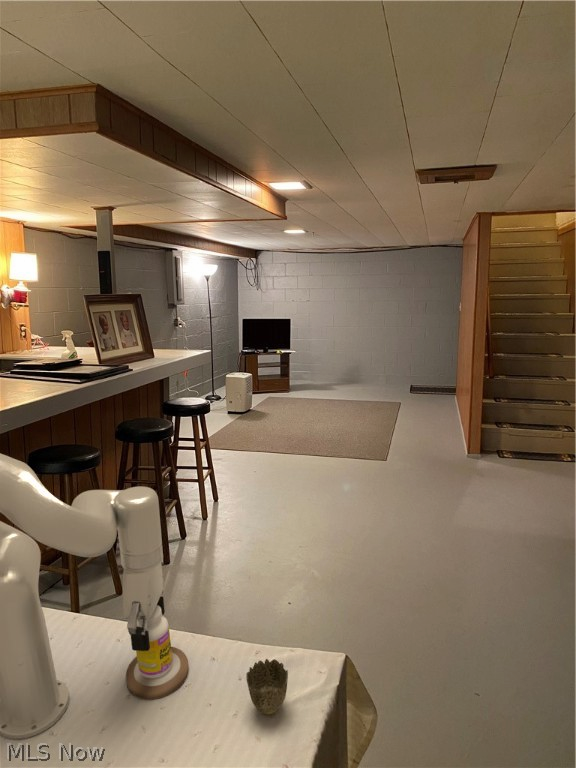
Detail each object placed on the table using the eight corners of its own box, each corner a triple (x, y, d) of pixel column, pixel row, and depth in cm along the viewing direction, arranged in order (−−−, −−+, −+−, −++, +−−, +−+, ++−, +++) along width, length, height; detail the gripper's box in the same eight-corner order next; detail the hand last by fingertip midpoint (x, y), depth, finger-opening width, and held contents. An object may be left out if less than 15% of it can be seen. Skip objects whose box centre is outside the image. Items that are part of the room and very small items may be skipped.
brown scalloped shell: (242, 702, 104) (239, 667, 102) (278, 687, 107) (276, 652, 105) (259, 734, 98) (256, 697, 95) (296, 716, 101) (295, 680, 98)
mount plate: (117, 698, 106) (116, 691, 105) (138, 651, 117) (137, 644, 117) (180, 700, 105) (179, 692, 104) (194, 652, 116) (194, 645, 116)
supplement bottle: (164, 682, 107) (156, 626, 103) (132, 677, 108) (124, 621, 105) (178, 656, 113) (172, 602, 110) (148, 652, 115) (141, 598, 111)
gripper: (137, 528, 112) (144, 601, 116) (103, 581, 95) (113, 664, 100) (174, 529, 111) (179, 602, 116) (147, 582, 95) (155, 666, 99)
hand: (149, 631), depth 108 cm, fingers open, 9 cm apart
